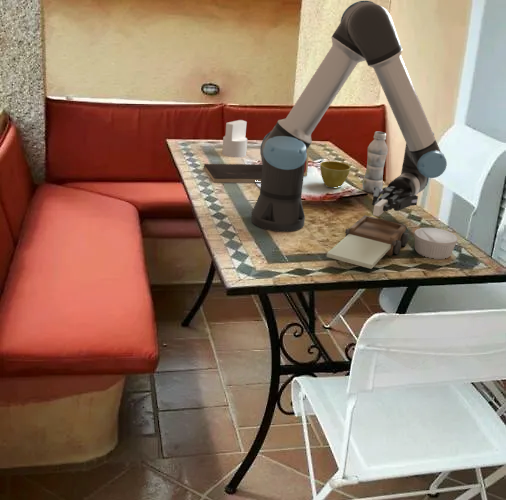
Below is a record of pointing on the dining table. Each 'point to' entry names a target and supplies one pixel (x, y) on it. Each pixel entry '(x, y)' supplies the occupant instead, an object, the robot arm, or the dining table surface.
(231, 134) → the cylinder with rectangular tab
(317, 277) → the dining table surface
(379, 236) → the flatbed cart
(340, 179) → the flower pot
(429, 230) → the ramekin
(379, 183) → the plastic bottle
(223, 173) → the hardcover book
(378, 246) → the panel
